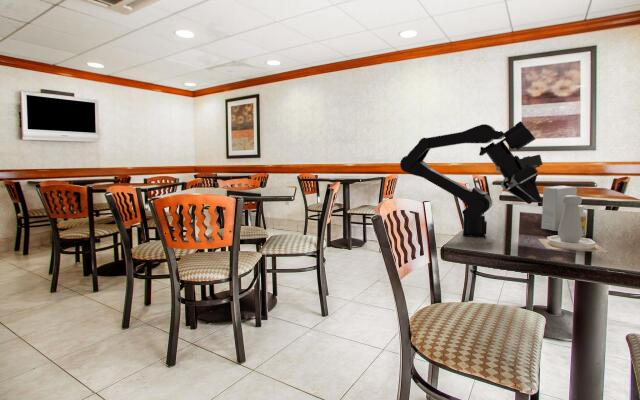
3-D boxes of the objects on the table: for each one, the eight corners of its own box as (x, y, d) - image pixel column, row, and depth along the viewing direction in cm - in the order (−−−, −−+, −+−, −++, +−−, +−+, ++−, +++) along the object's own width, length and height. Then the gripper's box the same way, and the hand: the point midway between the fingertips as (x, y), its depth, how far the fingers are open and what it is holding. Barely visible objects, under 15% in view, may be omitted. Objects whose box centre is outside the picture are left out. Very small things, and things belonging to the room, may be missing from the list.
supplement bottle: (581, 234, 119) (583, 204, 117) (587, 237, 114) (590, 206, 112) (562, 233, 120) (564, 204, 119) (567, 236, 115) (569, 206, 114)
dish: (552, 248, 101) (552, 242, 100) (543, 239, 111) (544, 234, 111) (600, 251, 97) (601, 245, 97) (587, 241, 107) (587, 236, 107)
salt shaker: (587, 243, 101) (590, 196, 99) (567, 244, 101) (571, 197, 99) (571, 238, 107) (574, 194, 105) (552, 239, 106) (555, 194, 105)
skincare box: (560, 227, 129) (562, 185, 127) (575, 230, 123) (578, 186, 121) (540, 229, 127) (542, 186, 125) (554, 232, 122) (557, 187, 120)
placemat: (546, 249, 101) (546, 248, 101) (537, 239, 112) (537, 238, 112) (608, 253, 96) (608, 252, 96) (592, 243, 107) (592, 241, 107)
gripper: (537, 137, 102) (573, 183, 99) (520, 151, 120) (549, 190, 117) (500, 159, 104) (534, 205, 101) (489, 169, 122) (517, 209, 119)
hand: (534, 202), depth 110 cm, fingers open, 9 cm apart
